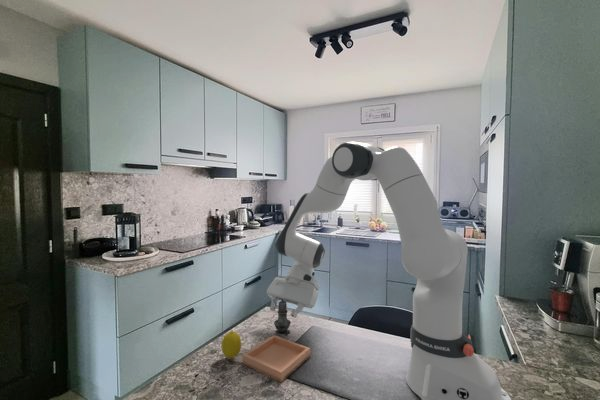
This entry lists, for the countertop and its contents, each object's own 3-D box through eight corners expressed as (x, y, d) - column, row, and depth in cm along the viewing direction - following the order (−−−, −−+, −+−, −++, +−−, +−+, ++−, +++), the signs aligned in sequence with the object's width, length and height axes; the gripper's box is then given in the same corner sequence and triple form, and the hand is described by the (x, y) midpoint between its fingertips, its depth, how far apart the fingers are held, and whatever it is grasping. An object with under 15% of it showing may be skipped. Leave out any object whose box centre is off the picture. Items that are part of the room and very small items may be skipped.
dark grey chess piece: (290, 336, 93) (290, 301, 93) (273, 336, 93) (273, 301, 93) (291, 328, 98) (291, 295, 99) (275, 328, 99) (275, 295, 99)
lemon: (236, 365, 76) (236, 336, 76) (218, 362, 78) (218, 334, 78) (244, 354, 82) (244, 327, 82) (227, 352, 83) (227, 326, 83)
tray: (310, 356, 81) (310, 348, 81) (281, 382, 69) (281, 372, 69) (274, 342, 89) (274, 335, 89) (242, 363, 77) (242, 354, 77)
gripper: (273, 270, 108) (256, 302, 100) (317, 278, 96) (302, 315, 88) (280, 278, 111) (264, 310, 103) (323, 288, 100) (309, 324, 92)
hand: (282, 313), depth 96 cm, fingers open, 8 cm apart
